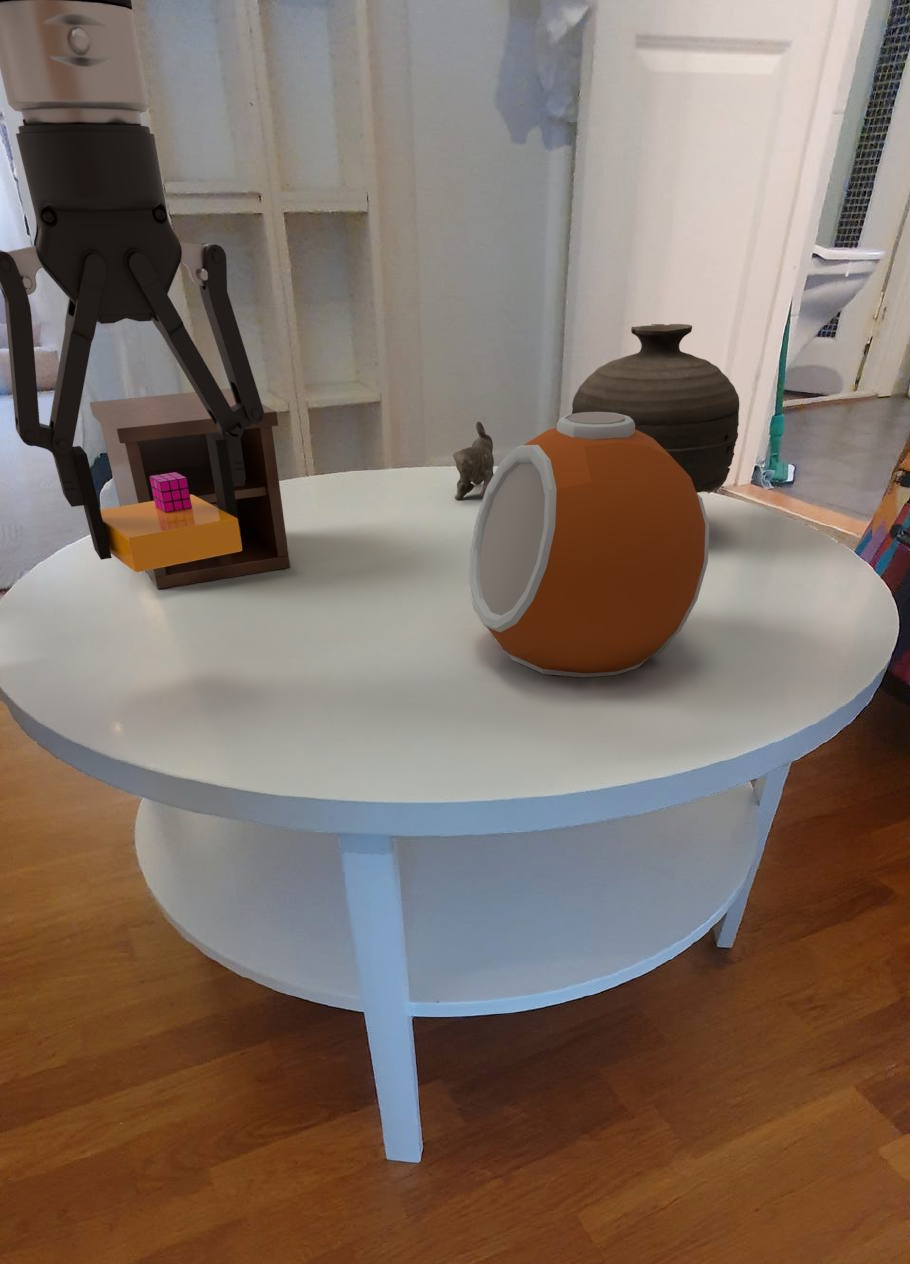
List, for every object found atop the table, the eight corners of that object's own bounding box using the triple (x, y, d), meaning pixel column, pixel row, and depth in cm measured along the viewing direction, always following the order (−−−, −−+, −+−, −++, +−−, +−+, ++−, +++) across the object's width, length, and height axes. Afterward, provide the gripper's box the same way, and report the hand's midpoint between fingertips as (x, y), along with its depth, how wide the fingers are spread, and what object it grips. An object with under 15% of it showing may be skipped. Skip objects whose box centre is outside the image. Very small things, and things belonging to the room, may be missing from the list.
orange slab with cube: (243, 551, 65) (233, 486, 63) (135, 573, 62) (120, 505, 59) (198, 525, 70) (187, 464, 67) (96, 544, 67) (80, 480, 64)
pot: (526, 518, 106) (550, 308, 93) (651, 512, 113) (690, 316, 100) (608, 565, 94) (649, 333, 81) (743, 556, 101) (801, 339, 88)
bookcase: (154, 592, 91) (116, 428, 82) (125, 551, 101) (89, 402, 92) (296, 568, 96) (276, 411, 86) (255, 531, 106) (233, 388, 97)
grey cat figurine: (459, 483, 122) (458, 419, 117) (502, 484, 121) (503, 420, 116) (443, 507, 113) (442, 439, 108) (489, 508, 112) (490, 440, 107)
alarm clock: (445, 624, 83) (439, 405, 72) (617, 598, 87) (637, 388, 76) (527, 710, 69) (536, 456, 58) (726, 675, 74) (770, 432, 62)
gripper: (-128, 114, 45) (19, 582, 60) (286, 119, 52) (325, 537, 67) (-128, 120, 50) (7, 551, 65) (248, 125, 57) (293, 512, 72)
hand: (168, 544), depth 66 cm, fingers closed on orange slab with cube, 9 cm apart
